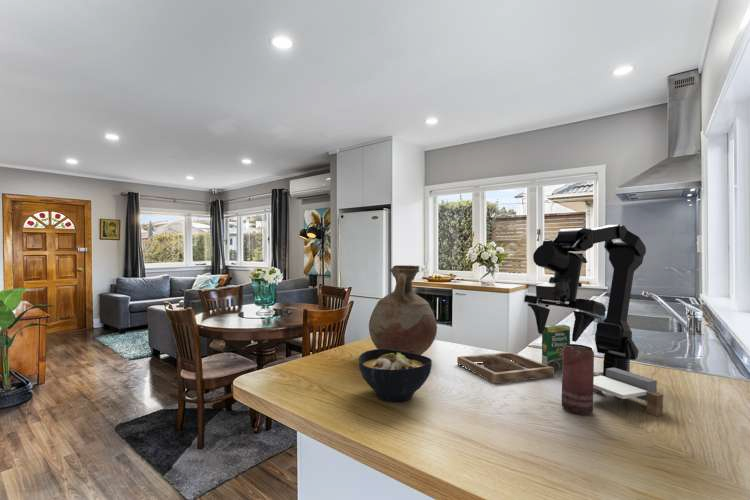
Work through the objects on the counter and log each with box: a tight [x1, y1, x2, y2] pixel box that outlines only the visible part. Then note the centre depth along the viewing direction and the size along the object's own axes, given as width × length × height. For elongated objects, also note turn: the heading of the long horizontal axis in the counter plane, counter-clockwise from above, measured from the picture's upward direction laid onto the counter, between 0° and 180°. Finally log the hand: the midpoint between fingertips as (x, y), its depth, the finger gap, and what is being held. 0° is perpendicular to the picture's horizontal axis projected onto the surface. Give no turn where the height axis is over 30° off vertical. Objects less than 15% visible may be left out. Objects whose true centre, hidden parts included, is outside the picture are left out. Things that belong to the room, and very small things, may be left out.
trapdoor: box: [593, 368, 658, 402], centre depth 87 cm, size 12×12×4 cm
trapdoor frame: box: [593, 371, 664, 417], centre depth 87 cm, size 2×16×4 cm, turn 21°
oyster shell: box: [482, 355, 526, 373], centre depth 109 cm, size 10×12×5 cm
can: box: [561, 343, 595, 416], centre depth 82 cm, size 6×6×14 cm
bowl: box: [358, 348, 433, 403], centre depth 88 cm, size 17×17×10 cm
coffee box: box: [541, 324, 571, 371], centre depth 112 cm, size 8×3×13 cm, turn 101°
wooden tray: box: [456, 351, 555, 384], centre depth 109 cm, size 20×17×2 cm
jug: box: [368, 264, 438, 356], centre depth 118 cm, size 22×22×30 cm
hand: (556, 337), depth 92 cm, fingers open, 9 cm apart
